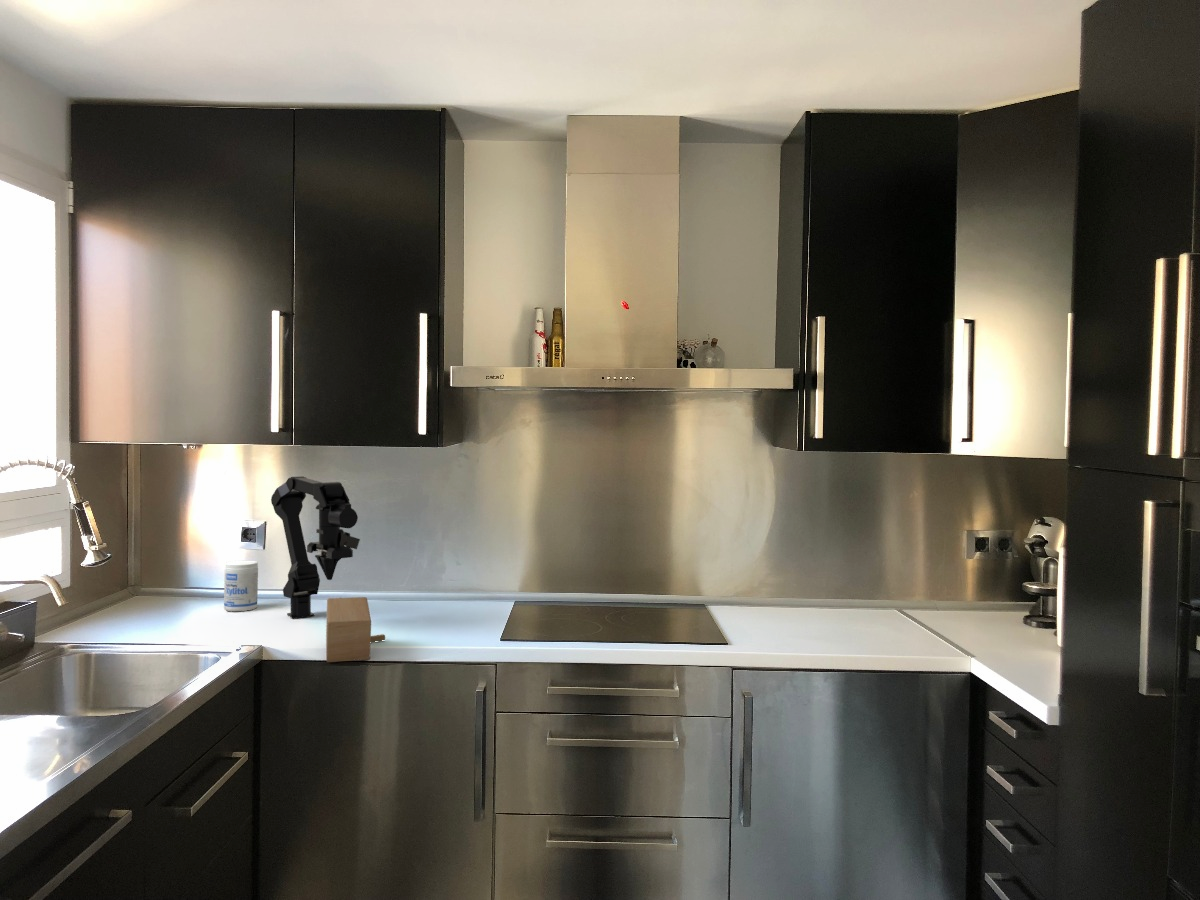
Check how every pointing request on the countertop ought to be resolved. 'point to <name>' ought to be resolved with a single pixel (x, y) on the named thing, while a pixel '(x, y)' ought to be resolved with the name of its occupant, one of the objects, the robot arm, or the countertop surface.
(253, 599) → the supplement tub
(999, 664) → the countertop surface
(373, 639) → the oak batten
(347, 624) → the wooden block
